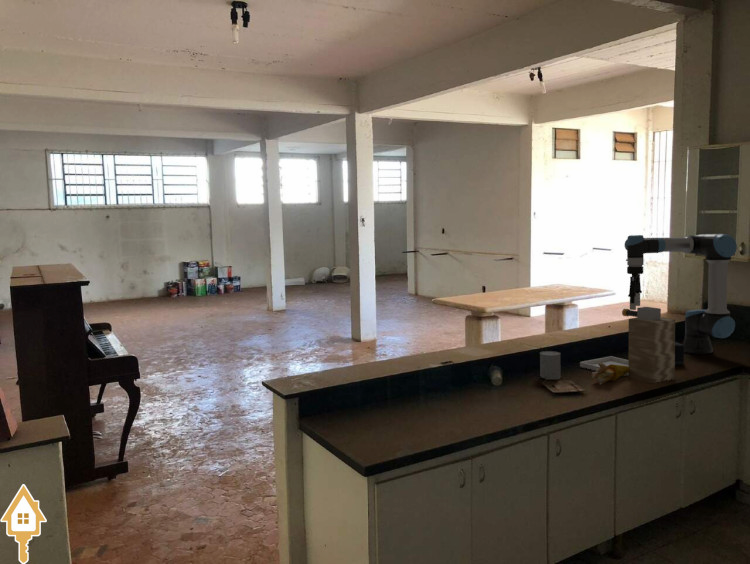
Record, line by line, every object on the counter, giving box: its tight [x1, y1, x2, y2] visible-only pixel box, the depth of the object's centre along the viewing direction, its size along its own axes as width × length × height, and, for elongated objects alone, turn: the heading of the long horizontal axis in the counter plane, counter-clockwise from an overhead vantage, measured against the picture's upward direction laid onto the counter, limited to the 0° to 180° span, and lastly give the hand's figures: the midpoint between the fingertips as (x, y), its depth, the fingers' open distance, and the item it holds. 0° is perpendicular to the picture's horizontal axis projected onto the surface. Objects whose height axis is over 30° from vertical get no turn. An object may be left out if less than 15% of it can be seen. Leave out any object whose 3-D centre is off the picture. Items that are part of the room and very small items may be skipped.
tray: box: [579, 355, 629, 378], centre depth 302 cm, size 22×25×2 cm
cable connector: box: [621, 306, 662, 321], centre depth 286 cm, size 6×18×5 cm, turn 26°
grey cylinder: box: [539, 350, 562, 380], centre depth 289 cm, size 10×10×12 cm
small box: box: [675, 341, 685, 366], centre depth 308 cm, size 11×6×10 cm, turn 179°
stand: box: [628, 317, 676, 384], centre depth 282 cm, size 14×14×28 cm
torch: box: [591, 362, 629, 385], centre depth 281 cm, size 8×8×25 cm
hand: (635, 307), depth 304 cm, fingers open, 13 cm apart
